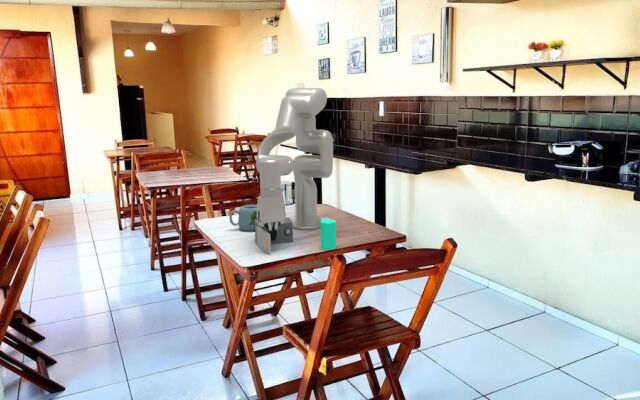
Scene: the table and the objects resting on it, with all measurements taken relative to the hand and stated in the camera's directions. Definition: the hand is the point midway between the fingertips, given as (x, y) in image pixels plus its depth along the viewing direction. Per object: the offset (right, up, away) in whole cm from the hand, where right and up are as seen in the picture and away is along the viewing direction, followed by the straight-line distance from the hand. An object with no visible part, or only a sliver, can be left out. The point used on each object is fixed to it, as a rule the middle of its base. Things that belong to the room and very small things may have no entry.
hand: (272, 239), depth 198 cm
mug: (-14, +2, +31) cm, 34 cm away
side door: (-4, -4, +2) cm, 5 cm away
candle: (+21, -3, +4) cm, 22 cm away
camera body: (-1, -1, +14) cm, 14 cm away
